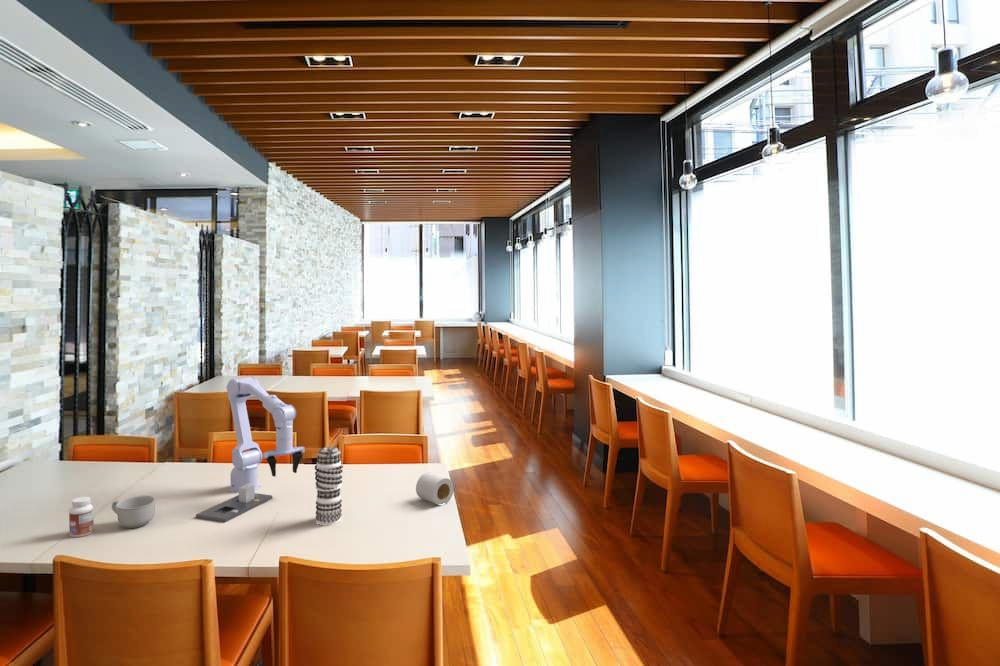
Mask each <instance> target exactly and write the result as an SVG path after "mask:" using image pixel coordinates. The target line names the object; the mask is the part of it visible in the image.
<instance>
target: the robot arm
mask: <svg viewBox="0 0 1000 666" xmlns="http://www.w3.org/2000/svg"><path fill="white" fill-rule="evenodd" d="M226 392H227V397H228V398H227V399H228V401H229V403H230V410H231V413H232V414H231V415H232V420H233V425H234V431H235V437H236V441H237V444H236V445H235V447H234V448H233V449H232V451H231V452H232V453H231V454H232V458H231V459H232V460H231V461H232V462H231V463H232V465H233V468H232V469H231V471H230V488H229V489H228V491H229V492H237V493H239V488H240V487H242V486H244V485H246V484H248V483H252V485H255V491H257V489H258V490H260V489H261V487H262V488H263V485H258V467H259V466H260V463H261V462H262V461H263V459H265V460H266V461H267V463H268V466H269V468H270V471H271V476H272V477H274V478H275V477H277V476H276V474H277V473H276V472H277V468H276V466H277V459H276V457H281V456H287V455H291V458H292V472H293V473H294V474H297V471H298V468H299V465H300V462H301V461H302V458H303V457H304V454H303V453H305V451H306V450H305V447H304V446H293V440H294V439H293V437H294V436H293V432H294V431H293V429H294V428H293V425H294V422H293V421H294V420H295V419H296V417H297V410H296V408H295V406H293V404H286V403H285V402H284V401H282V400H281V399H280V398H278V396H277V395H276V394H269V393H268V392H267V391H266V390H265V389H264V388H263V387H262V386H261V385H260V381H259V379H257V378H256V377H255V376H248V377H241V378H231V379H230V380H228V383H227V385H226ZM252 396H253V397H254V398H256V399H258V400H259V401H260V402H261V403H262V407H263V408H264V409H266V411H268V412H269V413H270V414H271V416H272V419H273V421H274V427H276V428H275V429H276V430H275V432H276V433H275V436H276V438H275V446H276V447H275V449H273V450H268V451H264V452H263V453H262V450H261V449H260V445H259V444H258V443H256V442H255V441H253V437H252V432H251V426H250V419H249V415H248V410H247V405H246V404H247V403H246V402H247V400H248V399H250V398H251V397H252ZM259 488H260V489H259Z"/></svg>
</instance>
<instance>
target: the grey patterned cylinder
mask: <svg viewBox="0 0 1000 666" xmlns="http://www.w3.org/2000/svg"><path fill="white" fill-rule="evenodd" d="M341 454H342V452H341V450H339V448H338V447H336V446H324V447H322V448H320V449H319V450H318V452H316V455H317V457H316V458H317V461H316V464H315V465H314V470H315V472H314V476H315V477H314V478H315V479H314V480H316V481H315V489H316V490H317V491H316V493H317V495H316V500H315V505H316V506H315V509H316V511H315V519H316V520H315V524H317V523H318V524H317V525H319V524H320V526H333V525H332V524H334V525H337V524H339V523H341V522H342V511H343V510H342V508H341V507H342V502H343V500H342V498H341V497H342V494H341V489H342V486H343V485H342V483H343V480H342V478H343V476H342V475H341V474H342V473H344V472H343V469H342V468H344V466H343V465H342V461H341ZM338 522H339V523H338ZM336 523H337V524H336Z"/></svg>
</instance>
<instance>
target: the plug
mask: <svg viewBox="0 0 1000 666" xmlns="http://www.w3.org/2000/svg"><path fill="white" fill-rule="evenodd" d="M255 491H256V490H255V485H252V483H248V484H246V485H244V486H242V487H240V488H239V492H238V495H239V502H244V503H247V502H249V501H251V500H253V499H255Z"/></svg>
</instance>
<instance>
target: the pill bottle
mask: <svg viewBox="0 0 1000 666" xmlns="http://www.w3.org/2000/svg"><path fill="white" fill-rule="evenodd" d="M68 513H69V515H68V516H69V517H68V520H69V521H68V522H69V526H68V527H69V536H70V537H74V538H79V537H80V538H81V537H85V536H88V535H91V534H92V533H93V532H94V529H95V528H94V527H95V523H94V521H95V520H94V519H95V518H94V506H93V504H91V497H89V496H81V497H76V498H73V499H72V500H71V507H70V508H69V511H68Z"/></svg>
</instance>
